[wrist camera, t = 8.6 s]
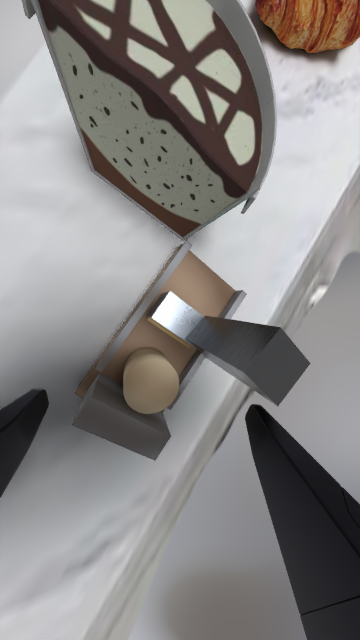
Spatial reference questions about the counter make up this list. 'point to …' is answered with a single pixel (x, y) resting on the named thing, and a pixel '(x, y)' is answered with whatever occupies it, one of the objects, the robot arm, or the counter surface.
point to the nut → (149, 381)
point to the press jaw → (236, 346)
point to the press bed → (142, 331)
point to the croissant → (312, 22)
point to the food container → (166, 101)
